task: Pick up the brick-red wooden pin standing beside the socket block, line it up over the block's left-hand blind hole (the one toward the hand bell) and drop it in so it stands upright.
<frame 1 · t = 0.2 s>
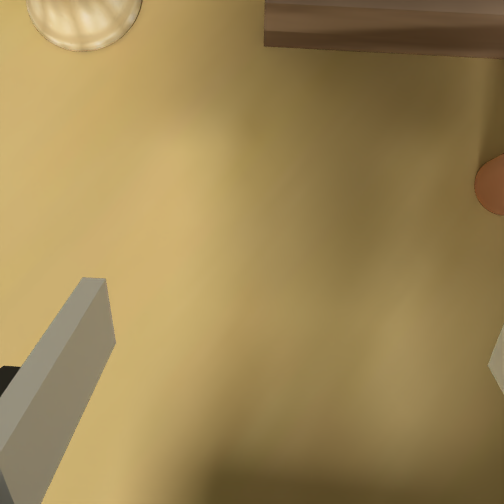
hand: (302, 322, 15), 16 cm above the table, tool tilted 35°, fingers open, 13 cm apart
pin: (503, 186, 31), on the table
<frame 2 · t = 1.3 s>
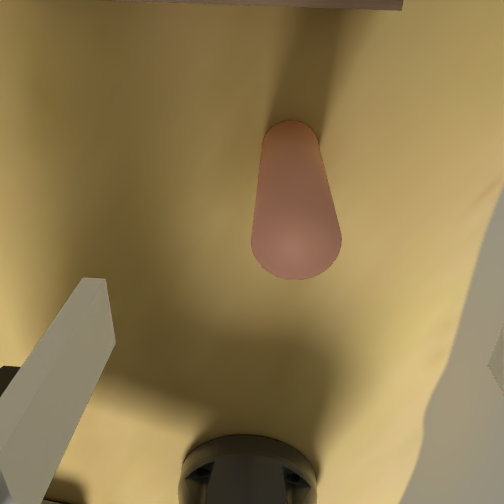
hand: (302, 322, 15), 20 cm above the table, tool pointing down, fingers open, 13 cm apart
pin: (290, 148, 32), on the table
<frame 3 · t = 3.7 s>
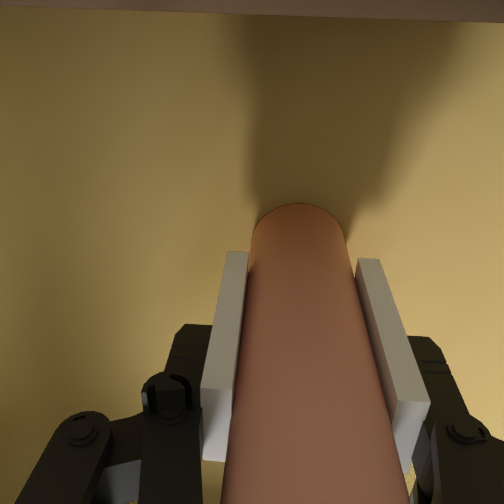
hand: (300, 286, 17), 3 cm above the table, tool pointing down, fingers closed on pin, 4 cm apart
pin: (297, 246, 20), on the table, touching gripper
when the fingers open (7 cm above the table, at t = 9.8 s): pin stays where it is, resting on socket block.
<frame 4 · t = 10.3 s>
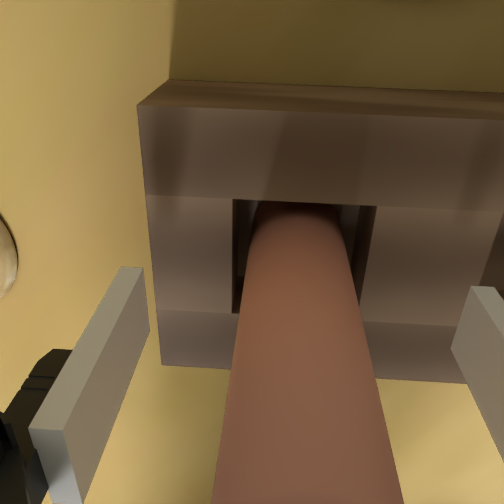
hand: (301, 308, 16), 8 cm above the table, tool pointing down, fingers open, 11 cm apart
socket block: (396, 216, 23), on the table
pin: (295, 229, 21), point 2 cm above the table, touching socket block
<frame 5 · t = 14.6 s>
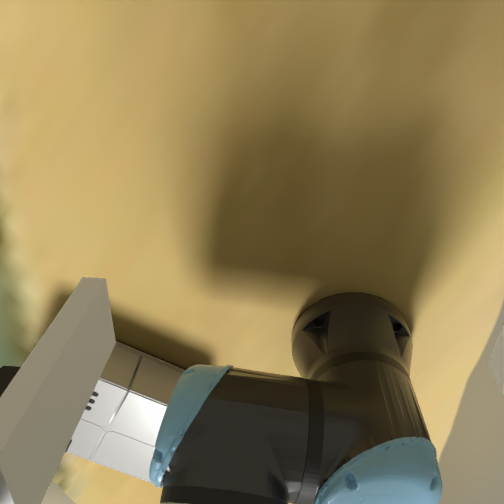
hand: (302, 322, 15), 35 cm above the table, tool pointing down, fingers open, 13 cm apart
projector: (124, 384, 67), on the table
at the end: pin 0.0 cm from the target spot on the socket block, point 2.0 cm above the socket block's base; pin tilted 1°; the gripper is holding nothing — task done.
